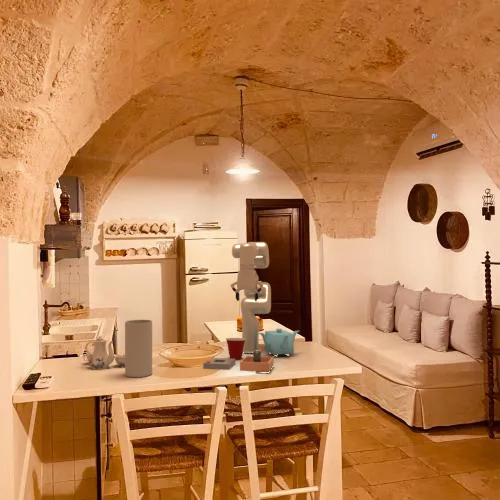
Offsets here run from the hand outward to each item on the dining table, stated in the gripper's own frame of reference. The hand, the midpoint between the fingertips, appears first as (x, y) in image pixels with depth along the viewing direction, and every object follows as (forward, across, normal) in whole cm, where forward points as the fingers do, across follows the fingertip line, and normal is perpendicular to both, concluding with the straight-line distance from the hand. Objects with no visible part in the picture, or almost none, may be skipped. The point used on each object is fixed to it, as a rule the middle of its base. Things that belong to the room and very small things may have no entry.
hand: (246, 300), depth 253 cm
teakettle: (+32, -14, -22) cm, 42 cm away
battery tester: (+32, +11, +14) cm, 37 cm away
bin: (+32, -8, +14) cm, 36 cm away
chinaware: (+33, +70, +21) cm, 80 cm away
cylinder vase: (+32, +45, +34) cm, 65 cm away
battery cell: (+32, -8, +14) cm, 35 cm away
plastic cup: (+32, +7, -4) cm, 33 cm away
